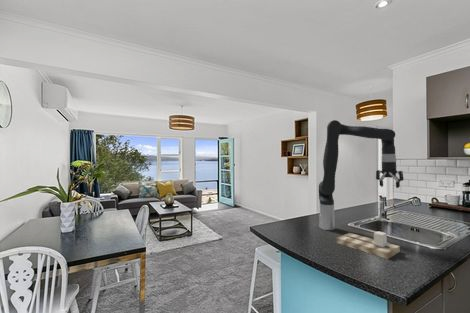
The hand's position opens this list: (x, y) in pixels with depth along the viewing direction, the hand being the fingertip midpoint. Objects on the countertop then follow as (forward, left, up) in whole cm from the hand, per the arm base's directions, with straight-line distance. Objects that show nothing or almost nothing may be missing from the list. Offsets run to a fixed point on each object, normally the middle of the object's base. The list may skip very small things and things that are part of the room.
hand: (389, 187), depth 139 cm
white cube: (+7, -31, -27) cm, 41 cm away
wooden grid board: (0, -31, -30) cm, 43 cm away
